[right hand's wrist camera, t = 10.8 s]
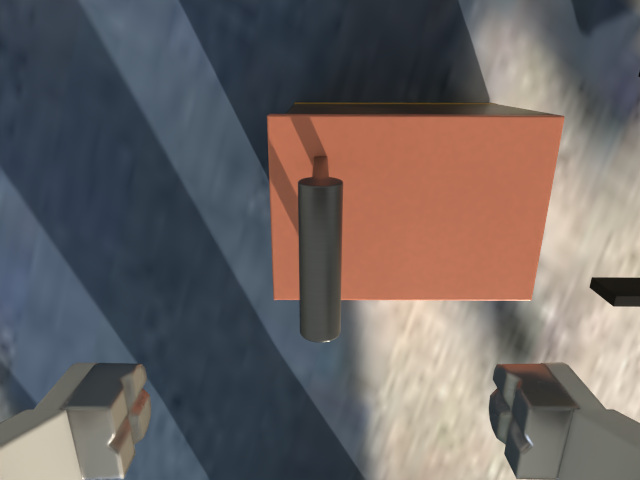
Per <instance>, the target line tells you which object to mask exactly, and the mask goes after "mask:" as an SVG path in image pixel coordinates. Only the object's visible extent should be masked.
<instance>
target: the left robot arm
mask: <svg viewBox="0 0 640 480" xmlns="http://www.w3.org/2000/svg"><path fill="white" fill-rule="evenodd" d="M639 77H640V72H639ZM590 288H591V289H592V290H593V291H595V292H596V293H597V294H598V295H600V296H601V297H602V298H603V299H605V300H606V301H607V302H609V303H610V304H611V305H612V306H636V307H640V278H593V277H592V279H591V284H590Z"/></svg>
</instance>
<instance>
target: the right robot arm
mask: <svg viewBox="0 0 640 480" xmlns="http://www.w3.org/2000/svg"><path fill="white" fill-rule="evenodd" d="M146 381H147V376H146V371H145V367H144V366H143V365H142V364H129V363H76V364H73V365H72V366H71V367H70V368H69V369H68V370H67V371H66V372H65V374H64V375H63V376H62V377H61V378H60V379H59V381H58V382H57V383H56V384H55V385H54V386H53V388H52V389H51V390H50V391H49V392H48V393H47V395H46V396H45V397H44V398H43V399H42V400H41V402H40V403H39V404H38V405H37V406H36V407H35V408H34V410H25V411H23V412H21V413H19V414H17V415H15V416H13V417H11V418H9V419H7V420H5V421H3V422H2V423H0V480H96V479H124V477H125V475H126V473H127V470H128V468H129V466H130V464H131V462H132V460H133V458H134V456H135V454H136V452H135V446H134V444H136V443H137V442H139V441H140V440H141V439H143V438H144V436H145V433H146V431H147V429H148V426H149V421H150V416H151V401H150V395H149V394H148V393H147V392H146V391H145V390H144V389H143V386H144V384H145V382H146ZM493 381H494V382H495V384H496V386H497V389H496V390H495V391H494V392H493V393H492V394H491V395H490V402H489V415H490V422H491V425H492V429H493V431H494V433H495V436H496V438H497V439H499V440H500V441H501V442H503V443H504V444H506V447H505V453H504V454H505V456H506V458H507V460H508V462H509V464H510V466H511V468H512V470H513V472H514V474H515V476H516V478H517V479H544V480H640V423H638V422H637V421H635V420H633V419H631V418H629V417H627V416H625V415H623V414H621V413H619V412H617V411H615V410H606V408H605V407H604V406H603V405H602V404H601V403H600V402H599V400H598V399H597V398H596V397H595V396H594V395H593V393H592V392H591V391H590V390H589V389H588V388H587V386H586V385H585V384H584V383H583V382H582V381H581V379H580V378H579V377H578V376H577V375H576V374H575V373H574V371H573V370H572V369H571V368H570V367H569V366H568V365H567V364H565V363H541V364H497V366H496V368H495V370H494V375H493Z"/></svg>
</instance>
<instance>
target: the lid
mask: <svg viewBox="0 0 640 480" xmlns="http://www.w3.org/2000/svg"><path fill="white" fill-rule="evenodd" d="M563 122H564V116H560V115H508V114H269V115H268V116H267V131H268V158H269V185H270V212H271V239H272V266H273V293H274V299H275V300H300V333H301V335H302V336H303V337H304V338H305V339H307V340H309V341H312V342H328V341H331V340H334V339H335V338H337V337H338V336H339V334H340V320H341V300H531V299H532V294H533V288H534V283H535V277H536V272H537V266H538V261H539V255H540V250H541V244H542V239H543V233H544V227H545V222H546V216H547V211H548V205H549V200H550V194H551V189H552V183H553V178H554V172H555V167H556V161H557V156H558V150H559V145H560V139H561V133H562V128H563Z"/></svg>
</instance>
